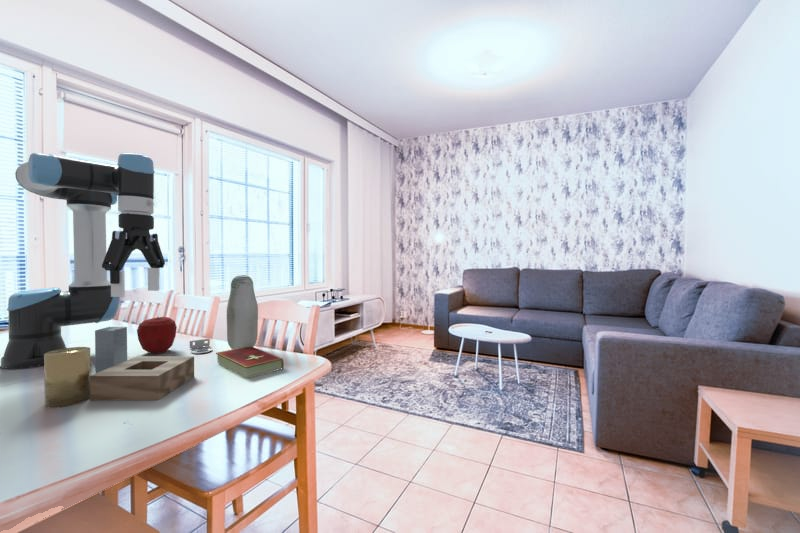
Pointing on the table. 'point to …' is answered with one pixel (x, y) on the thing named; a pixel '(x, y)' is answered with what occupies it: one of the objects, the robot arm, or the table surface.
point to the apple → (157, 334)
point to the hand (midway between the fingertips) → (136, 293)
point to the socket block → (142, 378)
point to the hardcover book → (249, 361)
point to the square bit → (110, 347)
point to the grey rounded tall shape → (242, 313)
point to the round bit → (67, 376)
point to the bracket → (200, 344)
